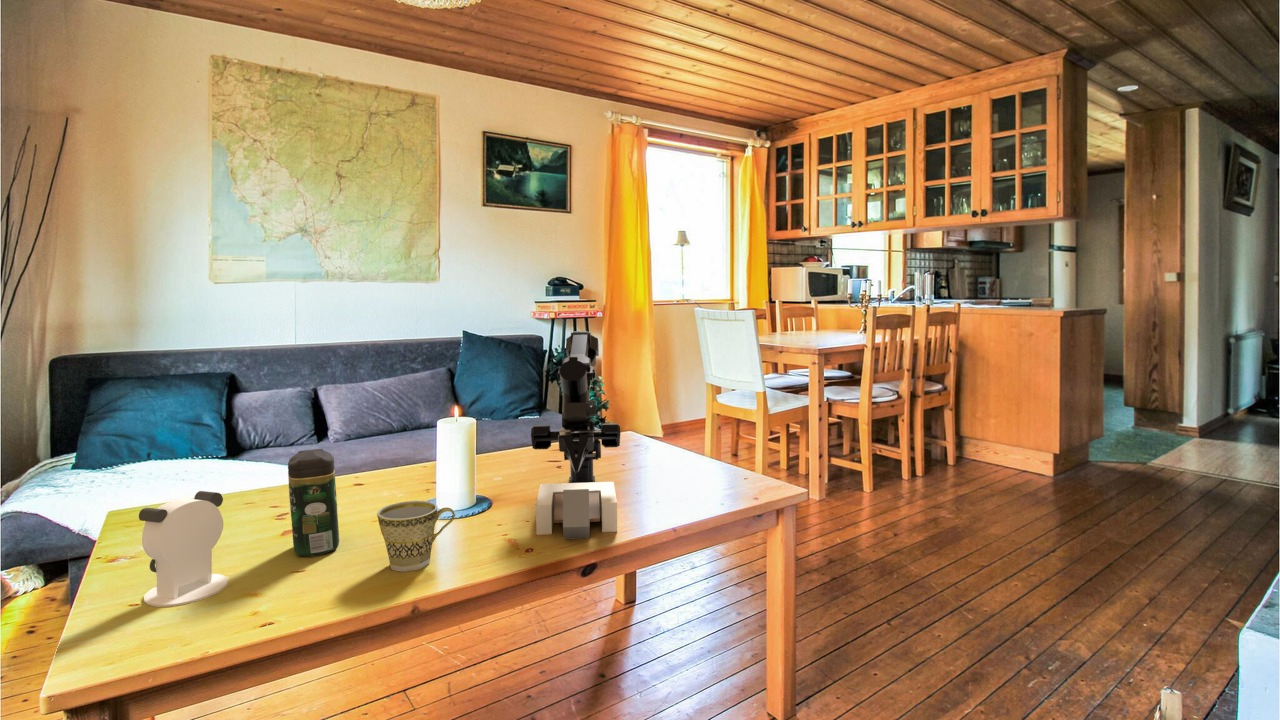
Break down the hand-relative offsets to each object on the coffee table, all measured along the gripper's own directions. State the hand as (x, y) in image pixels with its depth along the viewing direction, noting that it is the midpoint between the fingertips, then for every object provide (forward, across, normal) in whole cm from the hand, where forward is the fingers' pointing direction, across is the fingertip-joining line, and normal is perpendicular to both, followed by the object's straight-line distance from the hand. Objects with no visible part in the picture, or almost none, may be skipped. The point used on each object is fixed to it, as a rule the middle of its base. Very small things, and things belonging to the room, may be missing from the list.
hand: (576, 471), depth 137 cm
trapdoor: (+6, 0, +4) cm, 7 cm away
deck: (+6, 0, +9) cm, 11 cm away
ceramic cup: (+20, -28, -4) cm, 35 cm away
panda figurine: (+25, -63, -9) cm, 68 cm away
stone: (+10, 0, -1) cm, 10 cm away
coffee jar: (+14, -49, +2) cm, 51 cm away
